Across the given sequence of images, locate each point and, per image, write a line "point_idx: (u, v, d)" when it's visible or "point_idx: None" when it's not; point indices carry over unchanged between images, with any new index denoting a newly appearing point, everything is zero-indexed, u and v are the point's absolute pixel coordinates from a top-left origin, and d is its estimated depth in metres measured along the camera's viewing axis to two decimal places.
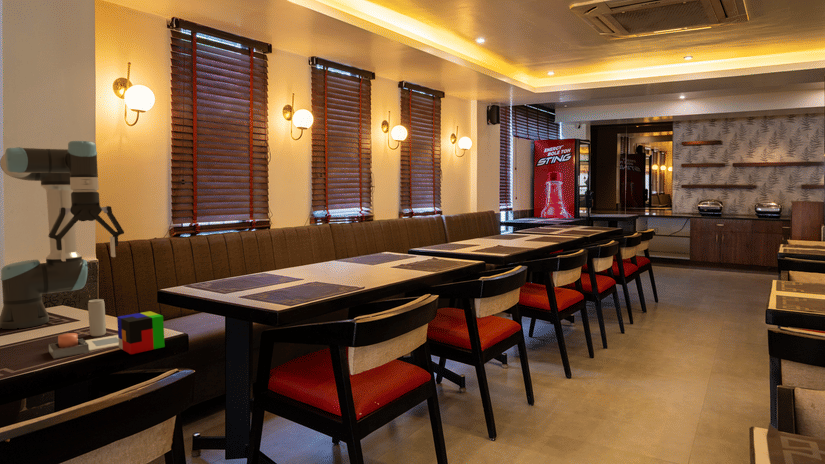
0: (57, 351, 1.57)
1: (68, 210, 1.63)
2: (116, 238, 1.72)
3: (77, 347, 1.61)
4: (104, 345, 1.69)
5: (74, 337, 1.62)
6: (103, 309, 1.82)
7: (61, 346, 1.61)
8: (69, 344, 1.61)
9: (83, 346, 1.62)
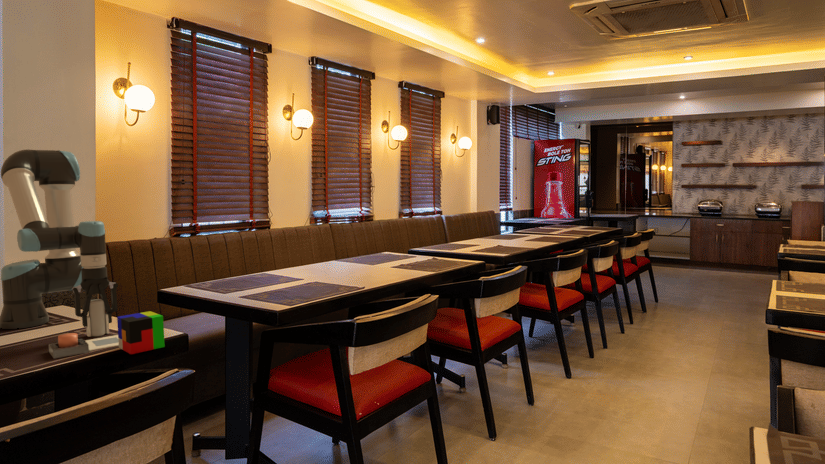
0: (57, 351, 1.57)
1: (79, 287, 1.78)
2: (110, 315, 1.84)
3: (77, 347, 1.61)
4: (104, 345, 1.69)
5: (74, 337, 1.62)
6: (103, 309, 1.82)
7: (61, 346, 1.61)
8: (69, 344, 1.61)
9: (83, 346, 1.62)
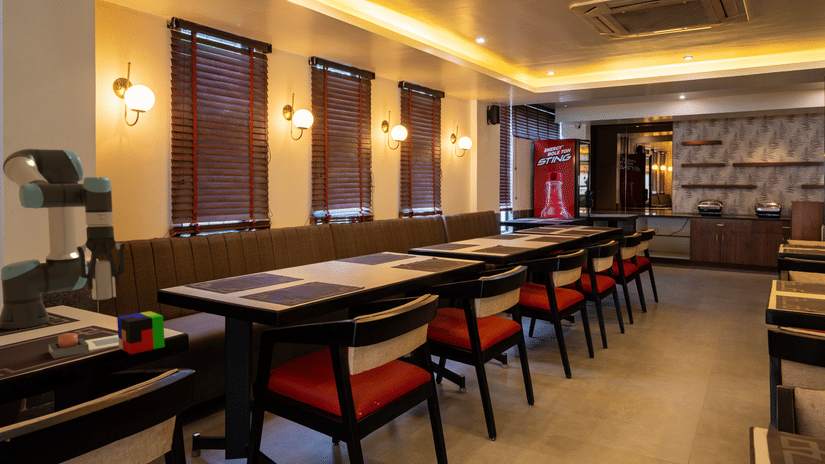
0: (57, 351, 1.57)
1: (84, 247, 1.67)
2: (116, 278, 1.73)
3: (77, 347, 1.61)
4: (104, 345, 1.69)
5: (74, 337, 1.62)
6: (109, 271, 1.71)
7: (61, 346, 1.61)
8: (69, 344, 1.61)
9: (83, 346, 1.62)
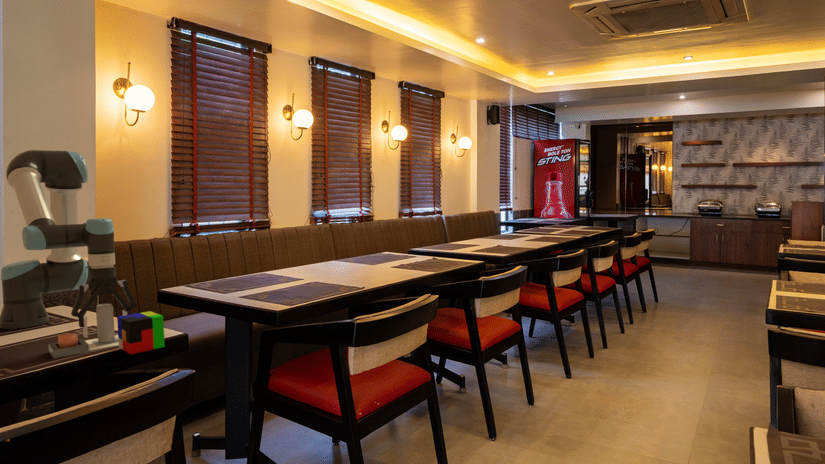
0: (57, 351, 1.57)
1: (86, 287, 1.68)
2: (129, 312, 1.76)
3: (77, 347, 1.61)
4: (104, 345, 1.69)
5: (74, 337, 1.62)
6: (112, 314, 1.72)
7: (61, 346, 1.61)
8: (69, 344, 1.61)
9: (83, 346, 1.62)
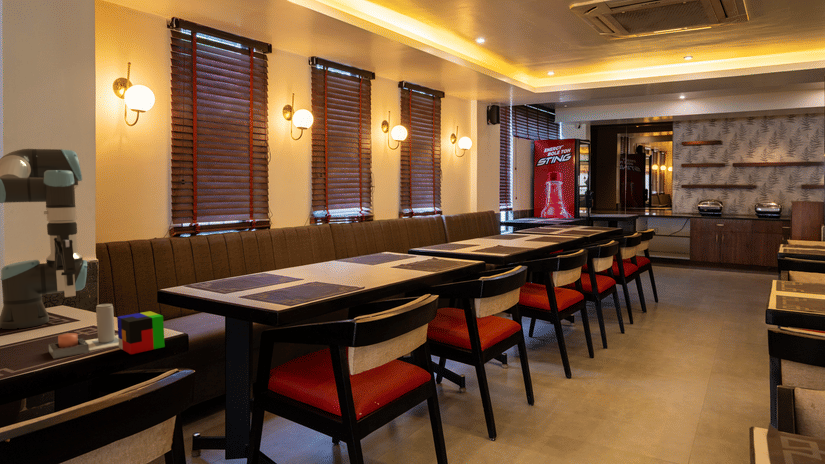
0: (57, 351, 1.57)
1: None
2: (67, 277, 1.56)
3: (77, 347, 1.61)
4: (104, 345, 1.69)
5: (74, 337, 1.62)
6: (112, 314, 1.72)
7: (61, 346, 1.61)
8: (69, 344, 1.61)
9: (83, 346, 1.62)
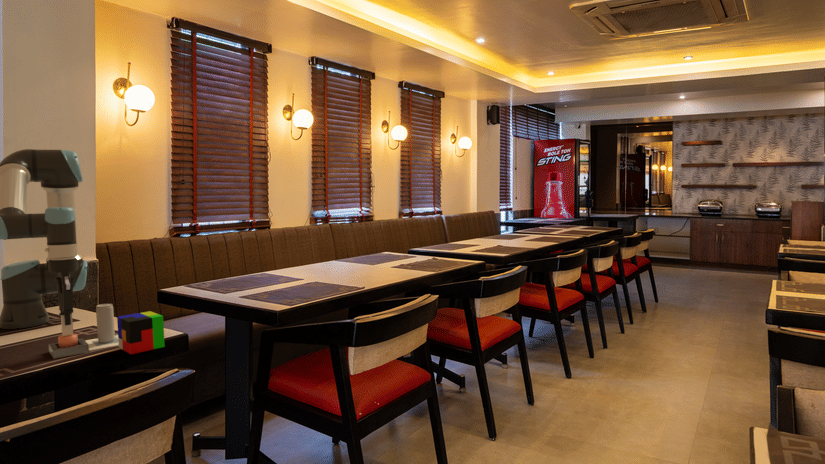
0: (57, 351, 1.57)
1: None
2: (64, 317, 1.61)
3: (77, 347, 1.61)
4: (104, 345, 1.69)
5: (74, 337, 1.62)
6: (112, 314, 1.72)
7: (61, 346, 1.61)
8: (69, 344, 1.61)
9: (83, 346, 1.62)
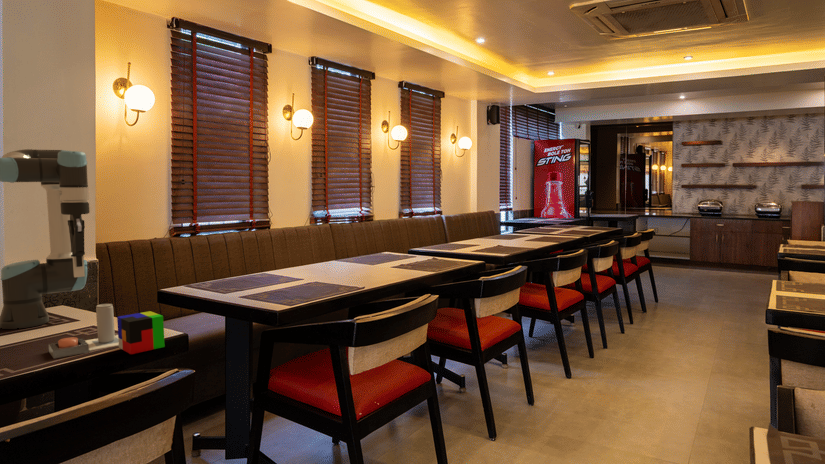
0: (57, 351, 1.57)
1: None
2: (76, 258, 1.65)
3: (77, 347, 1.61)
4: (104, 345, 1.69)
5: (74, 341, 1.62)
6: (112, 314, 1.72)
7: None
8: None
9: (83, 346, 1.62)
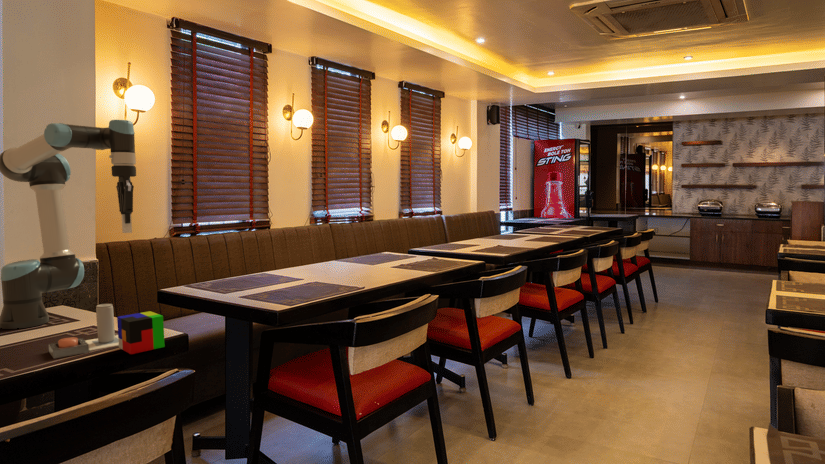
0: (57, 351, 1.57)
1: None
2: (125, 216, 1.86)
3: (77, 347, 1.61)
4: (104, 345, 1.69)
5: (74, 341, 1.62)
6: (112, 314, 1.72)
7: None
8: None
9: (83, 346, 1.62)
